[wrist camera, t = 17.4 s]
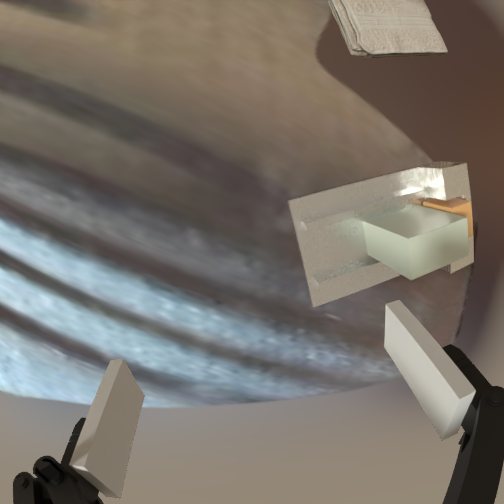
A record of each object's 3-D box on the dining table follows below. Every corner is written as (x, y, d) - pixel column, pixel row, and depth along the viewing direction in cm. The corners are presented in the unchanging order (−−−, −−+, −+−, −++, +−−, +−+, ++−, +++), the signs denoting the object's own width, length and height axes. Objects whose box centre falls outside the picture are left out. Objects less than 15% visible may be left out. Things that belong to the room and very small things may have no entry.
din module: (362, 221, 37) (407, 238, 27) (417, 205, 37) (467, 217, 28) (367, 254, 38) (410, 280, 28) (420, 236, 38) (468, 255, 29)
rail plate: (286, 200, 36) (300, 205, 30) (439, 161, 37) (466, 163, 31) (311, 304, 40) (326, 325, 34) (449, 251, 41) (473, 262, 35)
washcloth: (317, -9, 29) (324, -20, 26) (413, -6, 30) (423, -13, 27) (349, 62, 33) (360, 55, 30) (441, 56, 33) (453, 52, 30)
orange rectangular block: (422, 202, 37) (451, 208, 31) (442, 195, 37) (470, 201, 31) (426, 233, 38) (453, 243, 32) (445, 226, 38) (472, 235, 33)
